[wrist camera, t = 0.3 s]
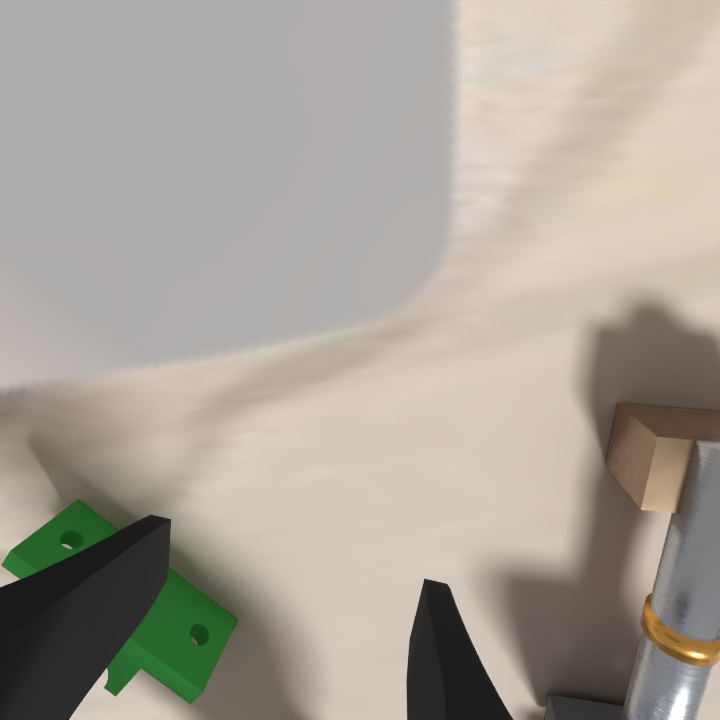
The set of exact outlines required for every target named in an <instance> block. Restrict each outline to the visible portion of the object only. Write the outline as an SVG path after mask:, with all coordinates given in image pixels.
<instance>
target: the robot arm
mask: <svg viewBox="0 0 720 720" xmlns="http://www.w3.org/2000/svg"><path fill="white" fill-rule="evenodd" d="M170 528H171V519H167V518H163V517H159V516H154V515H149V516H147V517H145V518H143V519H141V520H139V521H137V522H135V523H133V524H131V525H130V526H128V527H126V528H124V529H122V530H120V531H118V532H117V533H115V534H113V535H111V536H109V537H107V538H105V539H103V540H101V541H99V542H98V543H96V544H94V545H92V546H90V547H88V548H86V549H84V550H82V551H80V552H78V553H76V554H74V555H72V556H70V557H68V558H66V559H64V560H62V561H60V562H57V563H55V564H53V565H51V566H49V567H47V568H45V569H43V570H41V571H38V572H36V573H34V574H32V575H30V576H27V577H25V578H23V579H20V580H18V581H15V582H13V583H11V584H8V585H5V586H3V587H0V720H69V719H70V717H71V716H72V714H73V713H74V711H75V710H76V708H77V707H78V706H79V704H80V703H81V701H82V700H83V699H84V697H85V696H86V694H87V693H88V692H89V690H90V689H91V688H92V686H93V685H94V684H95V682H96V681H97V680H98V679H99V677H100V676H101V675H102V673H103V672H104V671H105V669H106V668H107V667H108V665H109V664H110V663H111V661H112V660H113V659H114V658H115V656H116V655H117V654H118V652H119V651H120V650H121V648H122V647H123V646H124V644H125V643H126V642H127V640H128V639H129V638H130V636H131V635H132V634H133V632H134V631H135V630H136V628H137V627H138V626H139V624H140V623H141V622H142V620H143V619H144V618H145V616H146V615H147V613H148V612H149V610H150V608H151V607H152V605H153V603H154V602H155V600H156V599H157V597H158V595H159V593H160V592H161V590H162V588H163V586H164V585H165V583H166V581H167V577H168V561H169V544H170ZM407 720H513V718H512V717H511V715H510V714H509V712H508V710H507V709H506V707H505V705H504V703H503V702H502V700H501V698H500V696H499V695H498V693H497V691H496V689H495V687H494V685H493V684H492V682H491V680H490V678H489V676H488V674H487V672H486V670H485V668H484V666H483V664H482V663H481V661H480V658H479V656H478V654H477V652H476V650H475V648H474V646H473V644H472V641H471V639H470V637H469V635H468V633H467V630H466V628H465V626H464V623H463V621H462V619H461V616H460V614H459V611H458V609H457V606H456V603H455V601H454V598H453V595H452V592H451V589H450V588H449V586H448V585H447V584H445V583H441V582H436V581H432V580H428V579H424V583H423V587H422V591H421V595H420V599H419V603H418V607H417V612H416V616H415V620H414V624H413V628H412V632H411V636H410V643H409V655H408V668H407Z"/></svg>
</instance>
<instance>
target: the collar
mask: <svg viewBox="0 0 720 720" xmlns="http://www.w3.org/2000/svg"><path fill="white" fill-rule="evenodd" d="M623 707H624V706H619V705H613V704H606V703H600V702H594V701H587V700H581V699H574V698H568V697H561V696H555V695H549V697H548V703H547V708H546V713H545V718H544V720H620V719H621V715H622V711H623Z"/></svg>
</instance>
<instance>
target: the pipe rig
mask: <svg viewBox="0 0 720 720" xmlns="http://www.w3.org/2000/svg"><path fill="white" fill-rule="evenodd" d="M605 466H606V467H607V468H608V469H609V471H610V472H611V473H612V474H613V476H614V477H615V478H616V479H617V481H618V482H619V483H620V484H621V486H622V487H623V488H624V489H625V491H626V492H627V493H628V494H629V496H630V497H631V498H632V499H633V501H634V502H635V503H636V504H637V506H638V507H639V508H640V509H641V510H648V511H657V512H667V513H672V515H671V519H670V523H669V527H668V531H667V535H666V539H665V543H664V547H663V551H662V555H661V559H660V563H659V567H658V571H657V575H656V579H655V583H654V587H653V591H652V593H650V594H649V595H648V596H647V597H646V600H645V604H644V608H643V612H642V616H641V627H642V629H643V631H642V635H641V639H640V643H639V647H638V651H637V655H636V659H635V663H634V667H633V671H632V675H631V679H630V683H629V687H628V691H627V695H626V699H625V703H624V707H623V711H622V715H621V719H620V720H696V718H697V715H698V711H699V708H700V705H701V702H702V698H703V695H704V692H705V689H706V685H707V682H708V679H709V676H710V672H711V669H712V666H713V665H715V664H717V663H718V662H719V660H720V411H712V410H700V409H688V408H676V407H663V406H651V405H639V404H626V403H617V407H616V412H615V417H614V422H613V427H612V432H611V437H610V442H609V447H608V452H607V457H606V462H605Z"/></svg>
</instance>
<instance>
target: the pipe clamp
mask: <svg viewBox="0 0 720 720" xmlns="http://www.w3.org/2000/svg"><path fill="white" fill-rule="evenodd" d="M118 531H119V530H118V529H117V528H115V527H114V526H113V525H111V524H110V523H109V522H107V521H106V520H105V519H103V518H102V517H101V516H99V515H98V514H97V513H95V512H94V511H93V510H91V509H90V508H89V507H87V506H86V505H85V504H83V503H82V502H81V501H79V500H77V501H76V502H74V503H73V504H72V505H70V506H69V507H68V508H66V509H65V510H64V511H62V512H61V513H60V514H58V515H57V516H56V517H54V518H53V519H52V520H50V521H49V522H48V523H46V524H45V525H44V526H43V527H41V528H40V529H39V530H37V531H36V532H35V533H33V534H32V535H31V536H29V537H28V538H27V539H25V540H24V541H23V542H21V543H20V544H19V545H17V546H16V547H15V548H13V549H12V550H11V551H10V552H9V554H8V556H7V557H6V559H5V560H4V562H3V563H2V566H3V567H4V568H6V569H7V570H8V571H10V572H11V573H12V574H14V575H15V576H17V577H18V578H19V579H23V578H25V577H27V576H30V575H32V574H34V573H36V572H38V571H41V570H43V569H45V568H47V567H49V566H51V565H53V564H55V563H57V562H60V561H62V560H64V559H66V558H68V557H70V556H72V555H74V554H76V553H78V552H80V551H82V550H84V549H86V548H88V547H90V546H92V545H94V544H96V543H98V542H99V541H101V540H103V539H105V538H107V537H109V536H111V535H113V534H115V533H117V532H118ZM62 544H67V545H69V546H71V547H72V548H73V549H67V548H65V547H64V546H63V545H62ZM237 620H238V619H236V618H235V617H234V616H232V615H231V614H230V613H229V612H227V611H226V610H225V609H223V608H222V607H221V606H219V605H218V604H217V603H215V602H214V601H213V600H211V599H210V598H209V597H207V596H206V595H205V594H203V593H202V592H201V591H199V590H198V589H197V588H195V587H194V586H193V585H191V584H190V583H189V582H187V581H186V580H185V579H183V578H182V577H181V576H179V575H178V574H177V573H175V572H174V571H173V570H171V569H170V568H169V567H168V577H167V581H166V583H165V585H164V586H163V588H162V590H161V592H160V593H159V595H158V597H157V599H156V600H155V602H154V603H153V605H152V607H151V608H150V610H149V612H148V613H147V615H146V616H145V618H144V619H143V620H142V622H141V623H140V624H139V626H138V627H137V628H136V630H135V631H134V632H133V634H132V635H131V636H130V638H129V639H128V640H127V642H126V643H125V644H124V646H123V647H122V648H121V650H120V651H119V652H118V654H117V655H116V656H115V658H114V659H113V660H112V661H111V663H110V664H109V665H108V667H107V668H108V681H107V683H106V685H105V687H104V688H105V689H106V690H108V691H109V692H110V693H112V694H113V695H114V696H117V695H118V693H119V692H120V691H121V690H122V689H123V688H124V687H125V686H126V684H127V683H128V682H129V681H130V680H131V679H132V678H133V676H134V675H135V674H136V673H137V672H138V671H139V670H140V669H141V668H142V669H143V670H145V671H146V672H148V673H149V674H150V675H152V676H153V677H154V678H156V679H157V680H158V681H160V682H161V683H163V684H164V685H165V686H167V687H168V688H169V689H171V690H172V691H173V692H175V693H176V694H178V695H179V696H180V697H182V698H183V699H184V700H186V701H187V702H188V703H190V704H191V703H192V702H193V701H194V700H195V699H196V698H197V697H198V696H199V695H200V694H201V693H202V692H203V690H204V688H205V686H206V684H207V682H208V680H209V678H210V676H211V673H212V671H213V669H214V667H215V665H216V663H217V661H218V659H219V657H220V655H221V653H222V651H223V649H224V647H225V645H226V643H227V641H228V639H229V637H230V635H231V633H232V630H233V628H234V626H235V624H236V622H237ZM190 636H191V637H193V638H195V640H196V641H197V643H198V645H196V644H194V643H193V642H192V640H191V638H190Z"/></svg>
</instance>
